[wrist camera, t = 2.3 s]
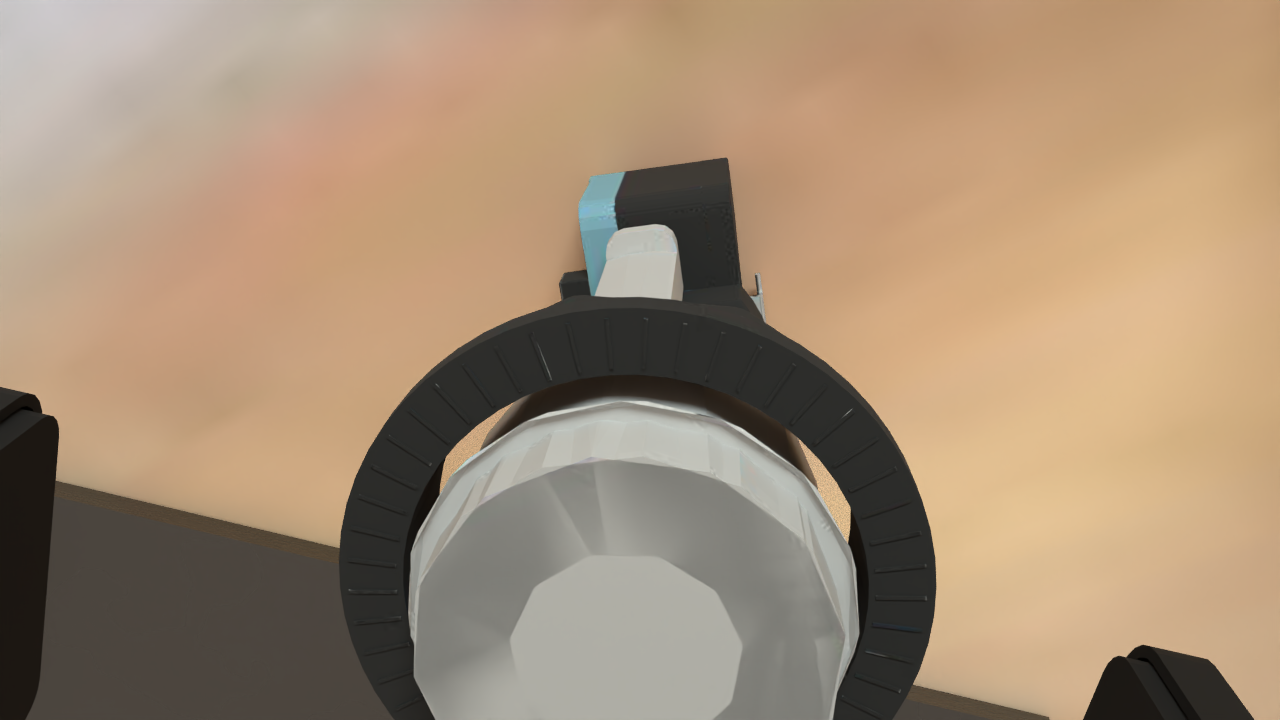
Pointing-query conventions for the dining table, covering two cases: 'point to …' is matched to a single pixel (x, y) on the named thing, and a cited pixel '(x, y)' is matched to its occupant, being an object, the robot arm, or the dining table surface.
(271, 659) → the plate with silver knobs
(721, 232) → the push button
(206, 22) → the dining table surface
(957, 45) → the dining table surface
